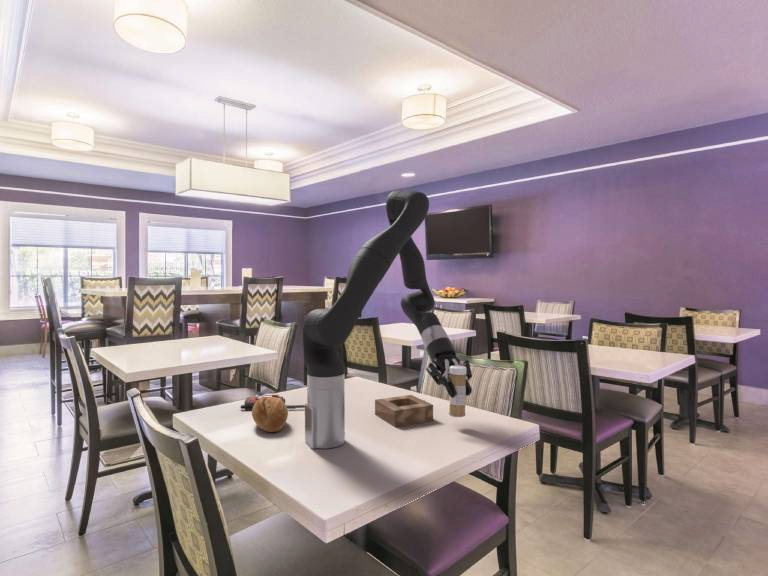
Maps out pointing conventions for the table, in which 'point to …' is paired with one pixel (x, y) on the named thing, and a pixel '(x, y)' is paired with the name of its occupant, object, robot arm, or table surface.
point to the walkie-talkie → (252, 400)
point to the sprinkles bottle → (458, 391)
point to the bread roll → (270, 413)
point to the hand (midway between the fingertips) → (461, 394)
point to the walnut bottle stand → (403, 410)
